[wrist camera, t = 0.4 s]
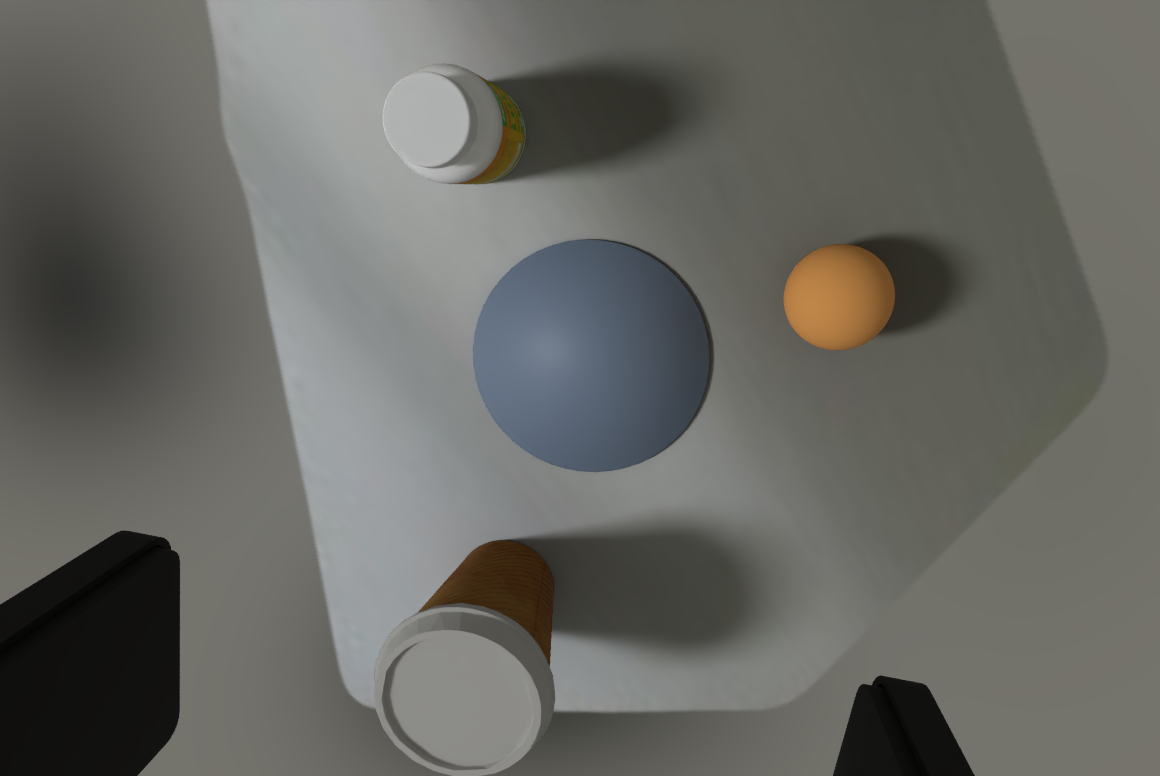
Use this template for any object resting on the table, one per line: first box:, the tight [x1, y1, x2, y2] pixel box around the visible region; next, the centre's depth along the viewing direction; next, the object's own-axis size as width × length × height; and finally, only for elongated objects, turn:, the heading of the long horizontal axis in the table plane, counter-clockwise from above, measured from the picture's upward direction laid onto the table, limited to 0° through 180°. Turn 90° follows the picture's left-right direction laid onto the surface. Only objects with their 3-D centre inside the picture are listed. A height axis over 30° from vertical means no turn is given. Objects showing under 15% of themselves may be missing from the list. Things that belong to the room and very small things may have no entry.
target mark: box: [473, 240, 710, 472], centre depth 45 cm, size 14×14×1 cm
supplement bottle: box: [383, 64, 526, 184], centre depth 37 cm, size 5×5×10 cm
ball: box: [784, 244, 895, 350], centre depth 39 cm, size 6×6×6 cm
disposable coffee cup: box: [374, 541, 555, 776], centre depth 43 cm, size 10×10×12 cm
